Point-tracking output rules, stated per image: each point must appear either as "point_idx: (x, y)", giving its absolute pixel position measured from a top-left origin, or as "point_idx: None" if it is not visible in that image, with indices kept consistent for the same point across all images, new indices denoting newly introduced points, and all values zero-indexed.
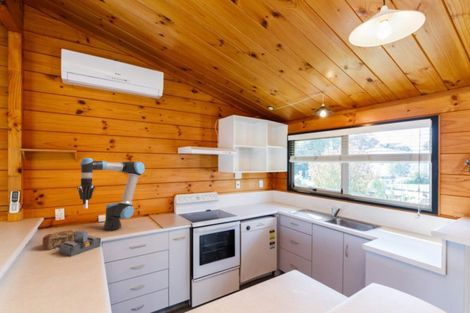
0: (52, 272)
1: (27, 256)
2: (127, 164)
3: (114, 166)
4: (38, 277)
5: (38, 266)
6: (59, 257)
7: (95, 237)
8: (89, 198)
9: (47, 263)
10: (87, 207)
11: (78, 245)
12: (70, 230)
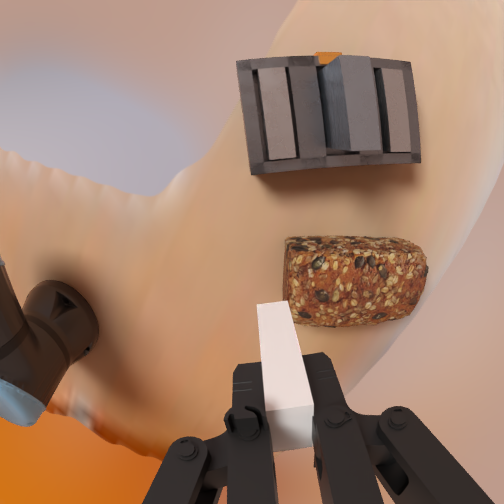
0: (462, 18)
1: (457, 231)
2: None
3: None
4: (487, 29)
5: (476, 98)
6: (417, 107)
7: (264, 72)
8: (216, 446)
9: (457, 94)
10: (262, 310)
11: (377, 58)
12: (303, 309)
